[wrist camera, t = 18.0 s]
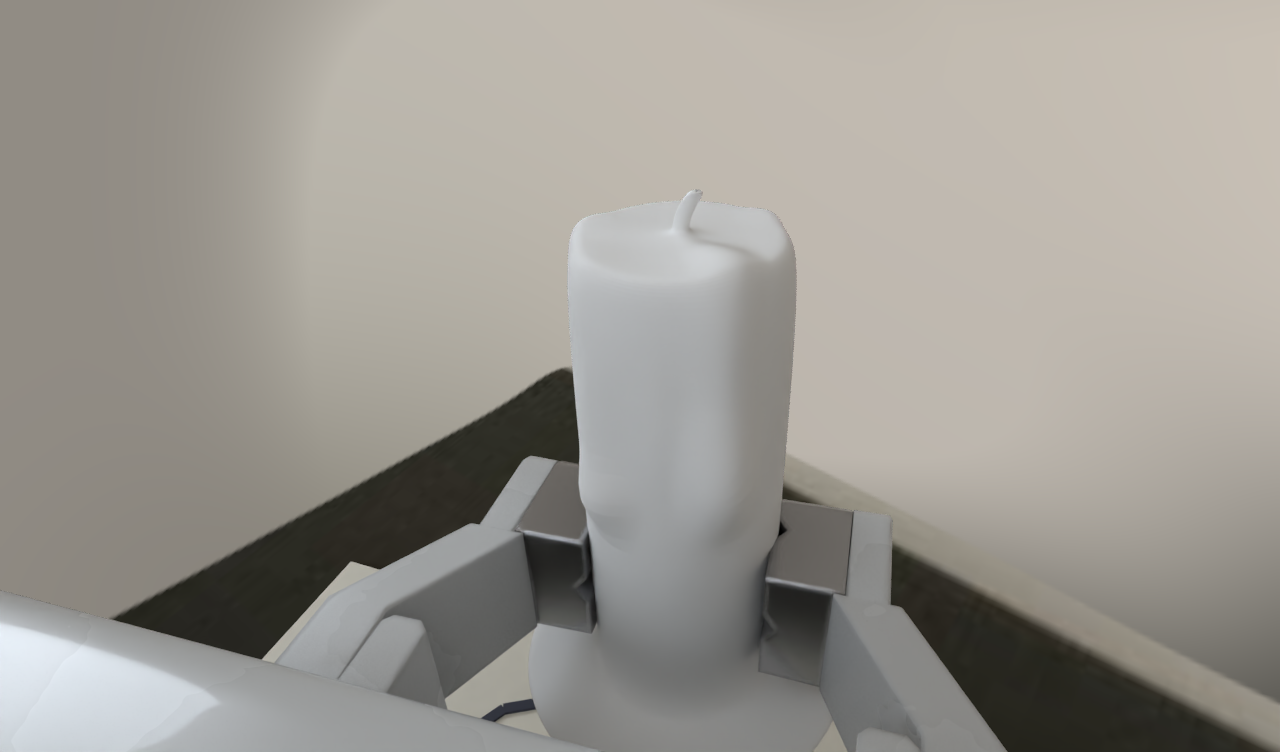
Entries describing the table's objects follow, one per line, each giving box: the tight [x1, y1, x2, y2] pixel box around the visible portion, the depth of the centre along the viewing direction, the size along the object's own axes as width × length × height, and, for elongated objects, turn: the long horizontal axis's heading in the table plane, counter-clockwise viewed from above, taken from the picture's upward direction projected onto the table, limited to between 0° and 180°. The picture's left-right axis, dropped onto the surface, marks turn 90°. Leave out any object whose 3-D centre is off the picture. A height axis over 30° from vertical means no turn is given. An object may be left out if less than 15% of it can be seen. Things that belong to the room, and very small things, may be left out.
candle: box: [528, 190, 833, 752], centre depth 11 cm, size 5×5×12 cm
